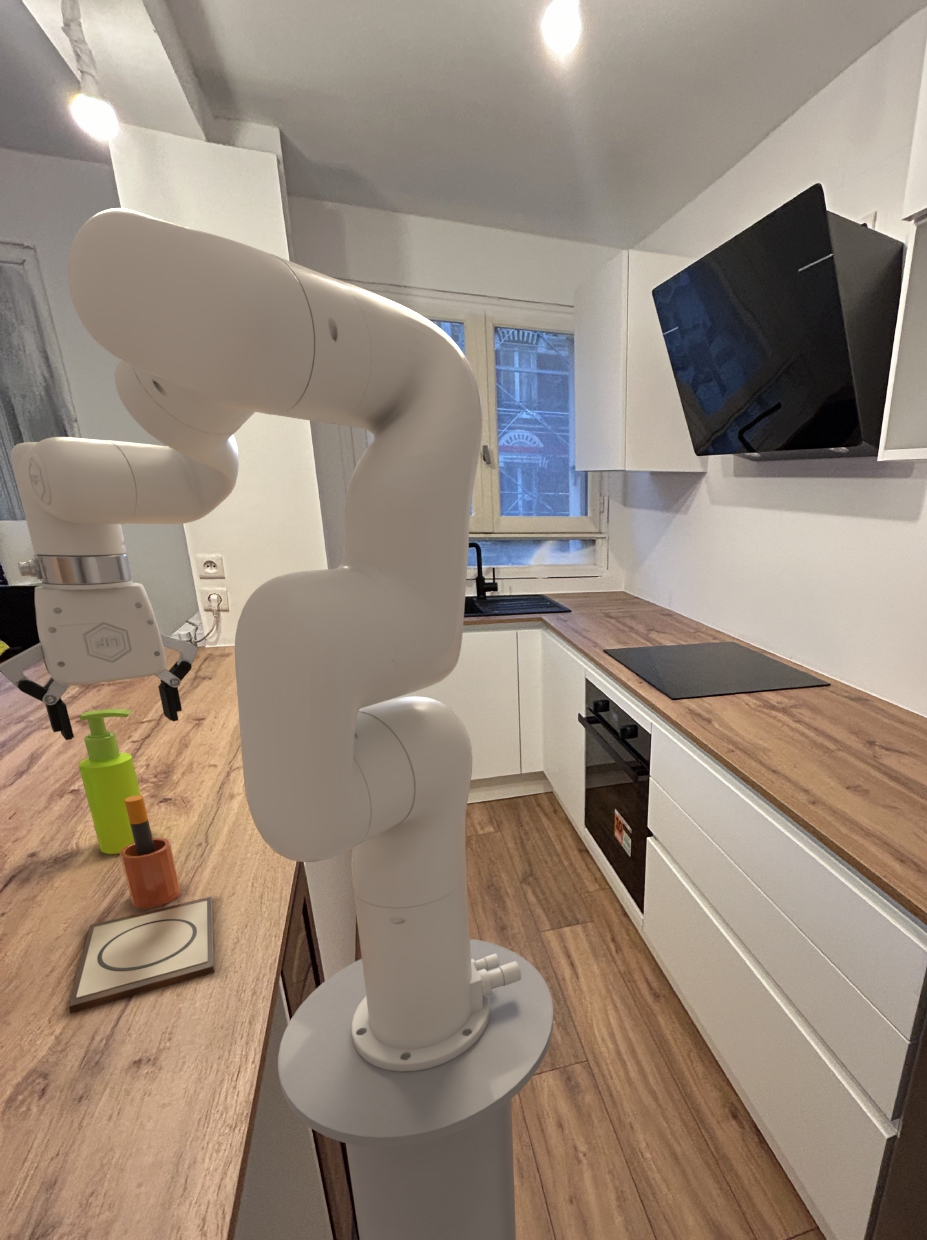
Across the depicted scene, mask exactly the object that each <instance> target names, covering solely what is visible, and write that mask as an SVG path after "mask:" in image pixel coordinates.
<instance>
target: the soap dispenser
mask: <svg viewBox="0 0 927 1240" xmlns="http://www.w3.org/2000/svg"><path fill="white" fill-rule="evenodd" d="M131 713H132V710H130V709H122V708H107V709H99V710H98V709H97V710H91V711H85V712H82V713H81V714H80V715H79V720H80V721H87V723H88V726H89V731H90V733H89V734H88V735H86V736H84V744H85V747H86V752H87V756H88V757H87V758H84V759H82V760H80V762H78V768H79V772H80V776H81V780H82V784H83V788H84V791H85V795H86V800H87V803H88V806H89V807H88V808H89V811H90V814H91V818H92V823H93V826H94V830H95V833H96V837H97V841H98V846H99V849H100V852H102V853H103V854H108V855H115V854H116V855H117V854H119V855H120V851H121V850H122V849H123V848H124V847H126V846H128V845H130V844H132V843H134V838H133V834H132V830H131V826H130V821H129V817H128V813H127V809H126V805H125V799H126V798H128V797H131V796H136V795H140V796H142V794H141V790H140V785H139V781H138V777H137V773H136V768H135V763H134V758H133V755H132V754H130V753H129V752H128V753H127V752H120V749H119V745H118V740H117V736H116V734H115V732H112V731H109V730H107V728H106V724H105V718H127V717H129V716H130V715H131Z"/></svg>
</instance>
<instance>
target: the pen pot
mask: <svg viewBox="0 0 927 1240" xmlns="http://www.w3.org/2000/svg"><path fill="white" fill-rule="evenodd" d="M152 838H153V843H154V847H155V851H156V852H153V853H150V854H147V855H142V856H138V855H137V851H136V847H135V842H134V843H132V844H130V845H128V846H126V847H124V848H123V849H122V850H121V851H120V853H119V857H120V861H121V865H122V869H123V873H124V877H125V881H126V885H127V890H128V895H129V897H130V901H131V903H132V904H131V905H132V906H133V907H134V908H137V909H151V908H153V909H154V908H157V907H160V906H164V905H166V904H169V903H170V902H172V901H174V900H175V899H177V898H178V897H179V896H180V894H181V887H180V881H179V876H178V872H177V867H176V862H175V858H174V853H173V850H172V844H171V841H170V840H169V839H167V838H164V837H152Z"/></svg>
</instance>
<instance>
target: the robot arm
mask: <svg viewBox="0 0 927 1240" xmlns="http://www.w3.org/2000/svg"><path fill="white" fill-rule="evenodd" d="M67 282H68V288H69V295H70V297H71V301H72V304H73V308H74V310H75V312H76V314H77V316H78V318H79V320H80V321H81V324H82V325H83V327H84V329H86V331H87V332H88V334H89V335H90V337H91V338H92V339H94V341H96V343H97V344H98V345H100V347H102V348H103V349H104V350H106V351H107V352H108V353H110V354H111V355H113V356H114V357H115V358H118V359H119V361H118V363H117V364H116V367H115V371H114V382H115V387H116V391H117V394H118V397H119V399H120V401H121V403H122V405H123V406H124V408H125V409H126V411H127V413H128V414H129V415H130V416H131V417H132V419H133V420H134V421H135V422H136V423H137V424H138V425H139V426H140V427H141V428H142V429H143V430H144V431H145V432H146V433H148V434H149V435H150V436H151V437H153V438H154V439H156V440H157V441H159V442H160V443H161V444H163V445H158V444H149V443H141V442H131V441H123V440H122V441H119V440H112V439H111V440H109V439H93V438H83V437H74V436H73V437H72V436H52V437H47V438H44V439H42V440H40V441H28V442H27V441H26V442H20V443H17V444H16V445H14V446H13V447H12V449H11V451H10V461H11V466H12V470H13V475H14V478H15V482H16V486H17V490H18V495H19V498H20V501H21V507H22V510H23V513H24V517H25V518H24V519H25V522H26V525H27V530H28V533H29V537H30V541H31V545H32V548H33V553H34V554H33V558H31V560H27V561H25V562H24V561H21V562H19V561H18V562H17V567H18V571H19V574H20V576H21V577H31V578H36V579H37V580H39V582H41V585H40V586H35V587H34V608H35V609H34V610H35V620H36V627H37V633H38V634H37V635H38V638H39V642H38V643H37V644H35V645H32V646H31V647H29V648H27V649H25V650H23V651H22V652H19V653H18V654H16V655H13V656H12V657H10V658H9V659H7V660H5V661H3V662H1V663H0V673H1V674H2V675H3V676H4V677H5V678H6V679H7V680H9V682H10V683H11V684H13V685H14V686H15V687H16V688H17V689H18V690H19V691H20V692H21V693H24V694H26V695H28V696H30V697H32V698H34V699H36V700H38V701H39V702H40V701H41V702H42V703H44V704H45V709H46V711H47V716H48V719H49V723H50V727H51V730H52V732H53V733H59V732H60V734H61V736H62V737H63V739H64V740H65V741H71V740H73V739H74V738H75V735H74V731H73V727H72V723H71V719H70V716H69V711H68V708H67V704H66V703H65V702H64V700H63V699H62V696H63V695H64V693H65V692H66V691H67V690H68V688H69V687H70V686H72V687H73V686H84V685H94V684H100V683H109V682H117V681H123V680H124V681H125V680H132V679H140V678H145V677H147V678H148V677H152V676H155V677H157V678H158V679H160V683H159V685H158V686H157V687H158V692H159V696H160V701H161V706H162V711H163V715H164V717H165V718H166V719H168V720H169V721H172V722H178V721H179V715H178V712H182V711H183V710H182V709H183V708H182V707H183V706H182V703H181V698H180V692H179V687H180V685H181V682H182V680H183V679H185V677H186V676H187V675H188V674H189V673H190V671H191V670H192V668H193V666H192V665H193V663H194V662H195V659H196V656H197V653H198V650H199V648H198V646H197V645H195V644H194V643H190V642H188V641H184V640H181V639H178V638H176V637H175V638H174V637H171V636H169V635H165V634H163V633H161V632H160V629H159V624H158V621H157V618H156V616H155V612H154V609H153V606H152V603H151V601H150V598H149V595H148V593H147V590H146V589H145V586H144V584H143V583H139V582H134V581H133V575H132V571H131V565H130V561H129V555H128V552H127V546H126V542H125V537H124V533H123V528H122V527H123V526H122V525H125V524H132V525H133V524H136V525H137V524H139V525H140V524H141V525H143V524H145V525H146V524H149V525H181V524H188V523H193V522H196V521H199V520H201V519H202V518H205V517H206V516H207V515H209V514H210V513H211V512H213V511H214V510H215V509H216V508H217V507H219V506H220V505H221V504H222V503H223V502H224V501H225V500H226V499H227V498H228V497H230V495H231V494H232V492H233V491H234V488H235V487H236V484H237V480H238V474H239V467H240V466H239V465H240V464H239V463H240V461H239V460H240V455H239V448H238V444H237V440H236V438H235V435H234V434H235V433H236V432H237V431H238V430H240V429H241V427H242V426H243V425H244V424H245V423H246V422H247V421H248V420H249V419H250V418H251V417H252V416H253V415H254V414H255V413H260V414H265V415H270V416H271V415H272V416H278V417H279V416H280V417H285V418H291V419H298V420H304V421H311V422H315V423H323V424H329V425H336V426H337V425H338V426H346V427H352V428H359V429H362V430H365V431H368V432H370V433H371V434H372V435H373V437H374V438H373V440H372V442H370V444H369V445H368V446H367V448H365V450H364V451H363V453H362V455H361V457H360V458H359V460H358V461H357V463H356V466H355V467H354V470H353V472H352V475H351V477H350V479H349V483H348V485H347V489H346V493H345V498H344V501H343V502H344V503H343V521H344V524H343V525H344V536H343V539H344V540H343V553H342V557H341V562H340V564H339V565H338V566H337V567H336V568H328V569H327V568H326V569H325V568H324V569H315V570H314V569H313V570H303V571H293V572H289V573H284V574H281V575H277V576H275V577H273V578H271V579H268V580H267V581H265V582H263V583H262V584H261V585H259V586H258V587H257V588H255V590H254V591H253V592H252V593H251V594H250V596H249V597H248V599H247V600H246V602H245V603H244V606H243V608H242V609H241V613H240V615H239V618H238V620H237V625H236V631H235V635H234V668H235V680H236V682H235V683H236V695H237V708H238V720H239V721H238V722H239V733H240V736H239V737H240V749H241V750H240V751H241V762H242V763H241V764H242V773H243V783H244V784H243V785H244V792H245V797H246V801H247V805H248V810H249V813H250V815H251V818H252V821H253V823H254V826H255V828H256V830H257V831H258V834H260V837H261V838H262V839H263V841H264V842H265V844H267V846H269V847H270V848H271V850H273V851H274V852H275V853H276V854H278V855H280V856H281V857H283V858H285V859H287V860H290V861H294V862H298V863H316V862H320V861H325V860H329V859H332V858H334V857H337V856H338V855H341V854H344V853H345V852H348V851H350V850H351V849H352V854H351V862H350V863H351V865H350V866H351V867H350V868H351V869H350V870H351V881H352V889H353V897H354V906H355V915H356V924H357V931H358V939H359V940H358V941H359V949H360V954H361V955H360V957H361V958H362V966H363V974H364V982H365V991H366V996H365V997H364V999H363V1000H362V1001H361V1003H360V1004H359V1005H358V1007H357V1009H356V1011H355V1013H354V1015H353V1019H352V1024H351V1029H352V1038H353V1043H354V1046H355V1048H356V1050H357V1052H358V1053H359V1054H360V1055H361V1056H362V1057H363V1058H364V1059H365V1060H366V1061H367V1062H369V1063H371V1064H372V1065H374V1066H376V1067H380V1068H383V1069H386V1070H392V1071H400V1072H402V1071H418V1070H423V1069H428V1068H432V1067H435V1066H438V1065H441V1064H444V1063H446V1062H448V1061H450V1060H452V1059H454V1058H456V1057H457V1056H459V1055H460V1054H462V1053H463V1052H465V1051H466V1050H467V1049H468V1048H470V1047H471V1046H472V1045H473V1044H474V1043H475V1042H476V1041H477V1040H478V1038H479V1037H480V1036H481V1034H482V1033H483V1032H484V1030H485V1027H486V1025H487V1023H488V1020H489V1015H490V1000H489V995H490V994H491V993H492V989H494V988H497V987H500V986H506V985H509V984H511V983H514V982H517V981H520V980H521V971H520V968H519V965H518V963H517V962H516V961H514V962H511V963H508V964H505V965H502V966H499V959H498V956H497V954H496V953H495V954H492V955H490V956H487V957H484V958H483V959H480V960H477V961H474V959H471V952H470V939H471V937H470V936H471V935H470V933H471V932H470V918H469V915H470V914H469V900H468V899H469V897H468V896H469V895H468V881H467V879H468V877H467V873H468V871H467V853H466V851H467V850H466V849H467V848H466V821H467V820H466V819H467V811H468V810H467V809H468V801H469V797H470V796H469V794H470V788H471V782H472V776H473V760H474V759H473V746H472V742H471V738H470V735H469V731H468V729H467V728H466V725H465V723H464V722H463V720H462V719H461V718H460V716H459V715H458V714H457V713H456V711H454V710H453V709H452V708H451V707H450V706H448V705H447V704H445V703H444V702H442V701H439V700H437V699H435V698H430V697H426V696H419V695H418V696H417V695H412V696H405V695H408V694H412V693H415V692H418V691H421V690H424V689H426V688H430V687H432V686H434V685H437V684H438V683H440V682H442V681H444V680H445V679H446V678H447V677H449V676H450V675H451V674H452V673H453V671H454V670H455V668H456V667H457V665H458V663H459V659H460V655H461V651H462V644H463V634H464V619H465V605H466V604H465V603H466V593H467V576H468V561H469V549H470V548H469V546H470V544H469V543H470V542H469V541H470V540H469V539H470V522H471V521H470V519H471V511H472V508H471V507H472V502H473V494H474V488H475V487H474V486H475V481H476V475H477V469H478V464H479V458H480V454H481V453H480V452H481V445H482V439H483V438H482V437H483V406H482V398H481V393H480V388H479V385H478V381H477V378H476V376H475V374H474V371H473V369H472V366H471V364H470V362H469V360H468V359H467V357H466V355H465V354H464V352H463V351H462V349H461V348H460V346H459V345H458V344H457V343H456V342H455V340H454V339H453V338H452V337H450V336H449V335H448V334H447V333H446V331H444V330H443V329H442V328H441V327H439V326H438V325H437V324H435V323H434V322H433V321H431V320H430V319H428V318H427V317H425V316H423V315H421V314H420V313H418V312H416V311H414V310H412V309H411V308H409V307H406V306H405V305H402V304H401V303H398V302H396V301H394V300H391V299H389V298H387V297H385V296H382V295H380V294H378V293H375V292H373V291H370V290H368V289H365V288H362V287H360V286H357V285H355V284H352V283H349V282H346V281H344V280H340V279H339V278H334V277H331V276H329V275H327V274H324V273H321V272H318V271H316V270H313V269H311V268H309V267H306V266H303V265H301V264H299V263H296V262H293V261H290V260H289V259H286V258H283V257H280V256H278V255H275V254H273V253H269V252H266V251H264V250H261V249H259V248H256V247H253V246H252V245H251V246H250V245H247V244H245V243H241V242H239V241H236V240H233V239H229V238H226V237H224V236H221V235H217V234H212V233H209V232H206V231H202V230H198V229H195V228H191V227H187V226H184V225H181V224H176V223H173V222H170V221H166V220H163V219H159V218H156V217H154V216H151V215H148V214H146V213H143V212H140V211H137V210H134V209H130V208H125V207H116V208H109V209H104V210H102V211H100V212H97V213H95V214H94V215H93V216H91V217H90V218H88V219H87V220H86V221H85V222H84V223H83V225H81V227H80V228H79V230H78V231H77V233H76V235H75V236H74V238H73V241H72V244H71V246H70V250H69V254H68V261H67ZM165 648H166V649H171V650H173V651H177V652H179V656H178V659H177V661H175V663H174V664H173V665H172V667H170V669H169V670H168V669H167V666H168V662H167V661H168V660H167V655H166V651H165ZM41 660H43V662H44V666H45V668H46V671H47V673H48V674H49V675H50V677H49V678H48V679H47V681H46V682H45V683H44V685H41V684H39V683H37V682H35V681H33V680H31V679H29V678H28V677H27V676H26V675H25V674H24V670H25V669H27V668H29V667H30V666H32V665H34V664H36V663H38V662H39V661H41ZM497 967H498V968H497ZM494 968H497V969H494ZM491 969H494V970H491ZM488 970H491V971H488ZM487 971H488V972H487Z"/></svg>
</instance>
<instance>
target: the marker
mask: <svg viewBox="0 0 927 1240" xmlns="http://www.w3.org/2000/svg"><path fill="white" fill-rule="evenodd" d="M125 805H126V809H127V813H128V817H129V821H130V826H131V830H132V834H133V838H134V842H135V847H136V851H137V855H138V856H142V855H147V854H150V853H153V852H156V851H155V847H154V843H153V838H154V837H153V834H152V830H151V825H150V821H149V817H148V812H147V808H146V803H145V799H144V796H143V795H141V796H140V795H136V796H131V797H128V798H126V799H125Z"/></svg>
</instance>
